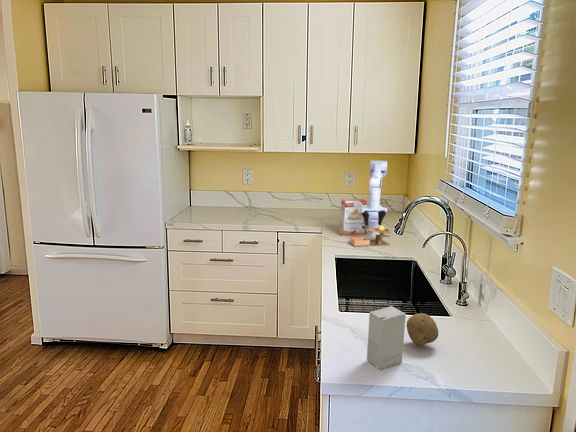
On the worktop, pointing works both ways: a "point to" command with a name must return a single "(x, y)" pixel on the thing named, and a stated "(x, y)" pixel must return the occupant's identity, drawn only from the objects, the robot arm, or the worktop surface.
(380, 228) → the ball
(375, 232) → the lever
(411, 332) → the potato
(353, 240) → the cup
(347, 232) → the cracker box
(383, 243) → the stand
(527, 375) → the worktop surface
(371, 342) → the skincare box
